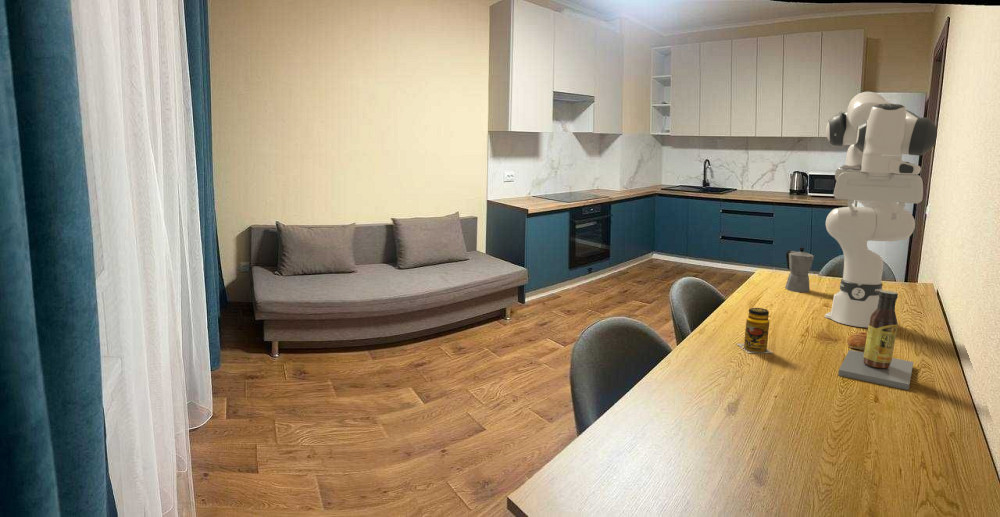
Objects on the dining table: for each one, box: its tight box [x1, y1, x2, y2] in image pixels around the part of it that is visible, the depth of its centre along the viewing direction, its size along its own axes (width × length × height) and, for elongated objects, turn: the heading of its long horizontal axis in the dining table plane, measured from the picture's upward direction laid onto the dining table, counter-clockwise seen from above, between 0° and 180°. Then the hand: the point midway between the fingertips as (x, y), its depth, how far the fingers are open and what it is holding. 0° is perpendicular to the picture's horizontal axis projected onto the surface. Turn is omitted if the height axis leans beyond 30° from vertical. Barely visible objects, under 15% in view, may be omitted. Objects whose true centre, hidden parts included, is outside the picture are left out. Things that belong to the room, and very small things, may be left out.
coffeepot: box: [784, 246, 815, 293], centre depth 246 cm, size 15×9×18 cm, turn 12°
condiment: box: [735, 307, 774, 354], centre depth 170 cm, size 7×8×12 cm
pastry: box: [846, 331, 867, 351], centre depth 175 cm, size 9×7×4 cm
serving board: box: [837, 349, 914, 391], centre depth 155 cm, size 20×15×2 cm
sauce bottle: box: [863, 289, 899, 369], centre depth 153 cm, size 6×6×20 cm
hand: (873, 218), depth 160 cm, fingers open, 8 cm apart
